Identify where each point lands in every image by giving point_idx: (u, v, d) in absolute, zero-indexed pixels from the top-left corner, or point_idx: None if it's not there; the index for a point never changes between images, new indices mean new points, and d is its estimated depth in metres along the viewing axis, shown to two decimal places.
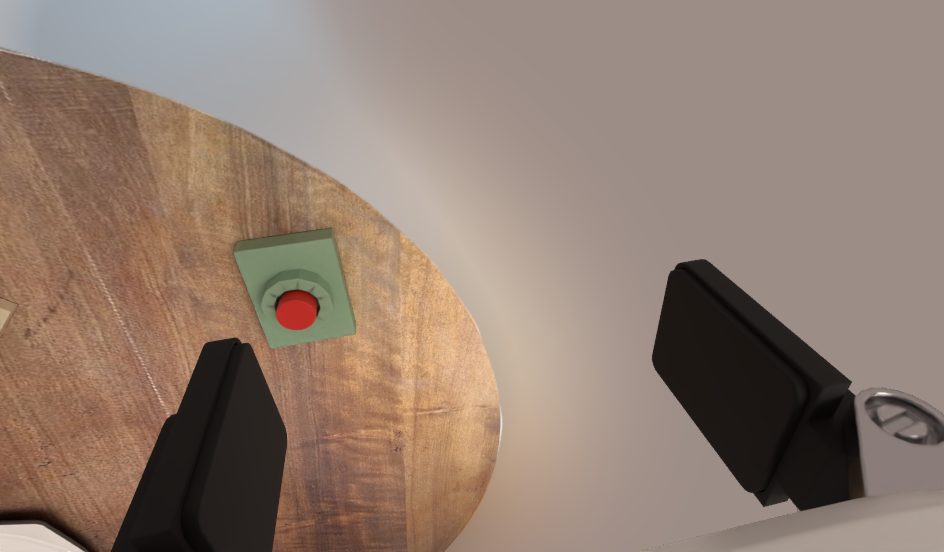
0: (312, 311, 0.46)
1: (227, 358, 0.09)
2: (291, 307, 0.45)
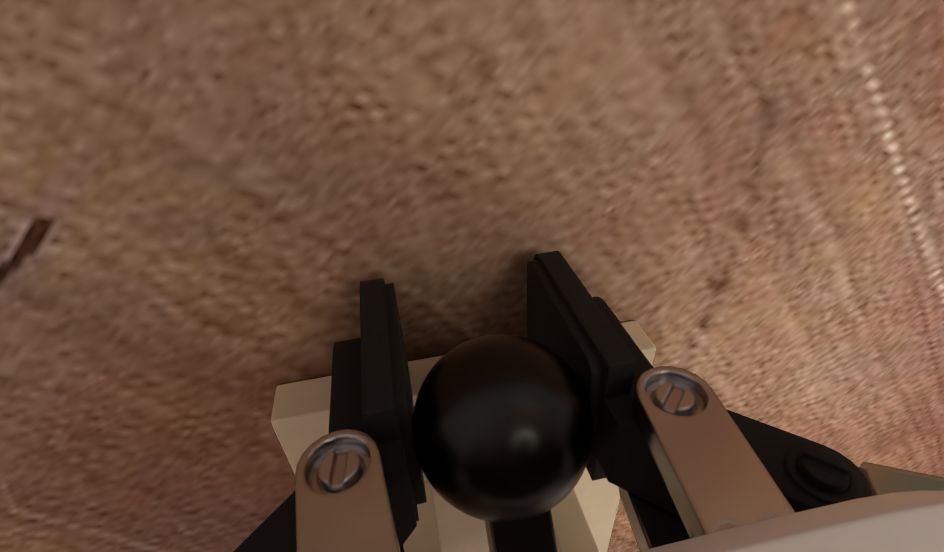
0: None
1: (384, 293, 0.10)
2: None
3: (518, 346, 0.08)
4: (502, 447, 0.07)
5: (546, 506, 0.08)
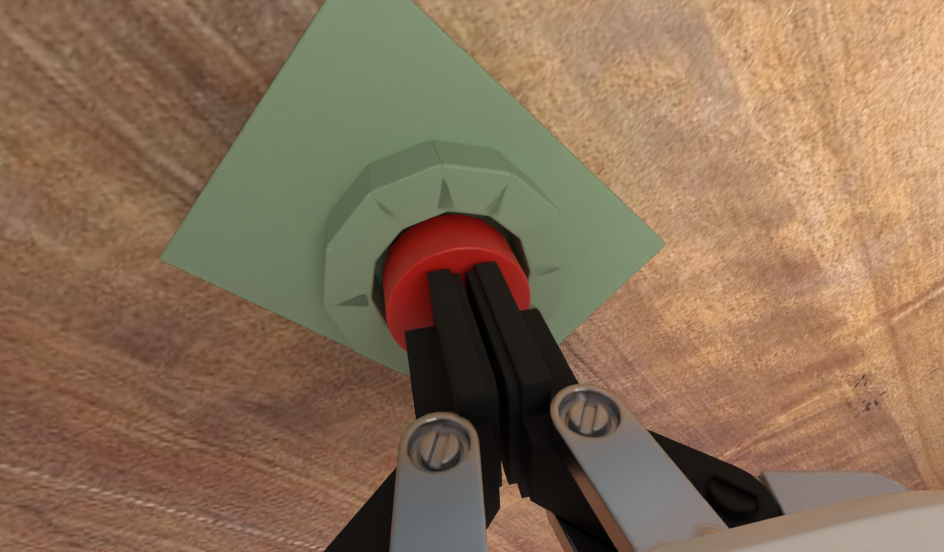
0: None
1: (453, 282, 0.10)
2: (423, 297, 0.11)
3: None
4: None
5: None
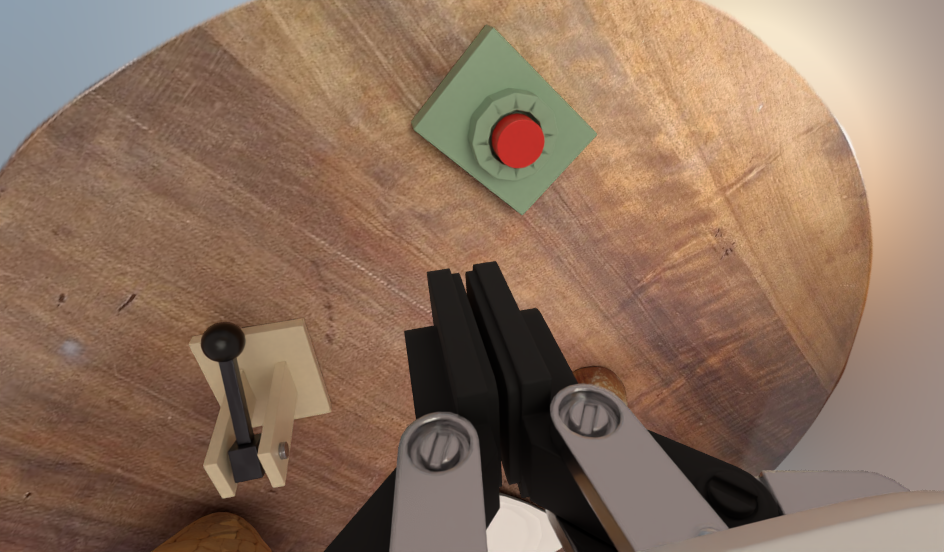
0: (533, 126, 0.34)
1: (453, 282, 0.10)
2: (509, 138, 0.34)
3: (221, 326, 0.37)
4: (212, 346, 0.37)
5: (225, 358, 0.37)
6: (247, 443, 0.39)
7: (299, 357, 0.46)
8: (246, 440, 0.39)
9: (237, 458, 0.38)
